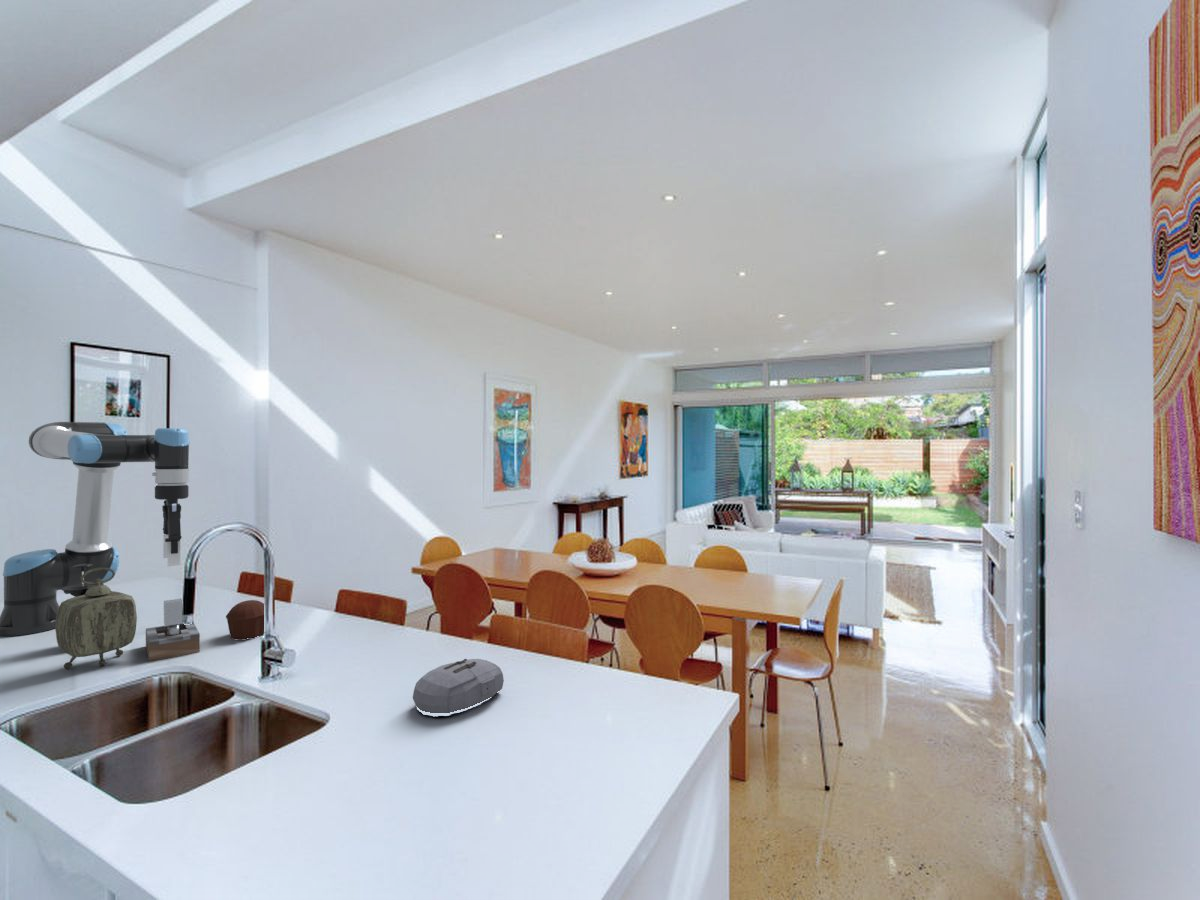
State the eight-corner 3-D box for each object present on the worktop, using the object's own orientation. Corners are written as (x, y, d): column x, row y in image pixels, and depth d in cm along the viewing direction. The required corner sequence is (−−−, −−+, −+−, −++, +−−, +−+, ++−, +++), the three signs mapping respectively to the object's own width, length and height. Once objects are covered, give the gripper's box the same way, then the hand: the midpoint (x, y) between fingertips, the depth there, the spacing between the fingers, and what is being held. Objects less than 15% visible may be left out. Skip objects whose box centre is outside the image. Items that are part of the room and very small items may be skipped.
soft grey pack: (467, 680, 144) (397, 709, 127) (468, 646, 144) (397, 671, 127) (512, 695, 135) (442, 729, 119) (512, 659, 135) (442, 688, 119)
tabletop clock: (124, 652, 160) (124, 561, 160) (139, 659, 156) (140, 565, 155) (55, 670, 148) (55, 571, 148) (69, 677, 143) (69, 575, 143)
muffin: (254, 642, 170) (254, 607, 170) (216, 641, 170) (216, 607, 170) (277, 629, 181) (277, 596, 181) (242, 628, 182) (242, 596, 182)
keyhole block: (145, 646, 165) (145, 628, 165) (192, 638, 173) (192, 621, 172) (149, 661, 154) (149, 642, 154) (199, 651, 161) (199, 633, 161)
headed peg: (160, 651, 161) (160, 600, 161) (183, 647, 165) (183, 597, 165) (162, 656, 157) (162, 604, 157) (185, 652, 161) (185, 601, 161)
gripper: (151, 482, 168) (151, 555, 169) (158, 487, 149) (157, 571, 150) (183, 481, 173) (183, 552, 174) (193, 486, 154) (193, 567, 155)
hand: (171, 561), depth 162 cm, fingers open, 13 cm apart
